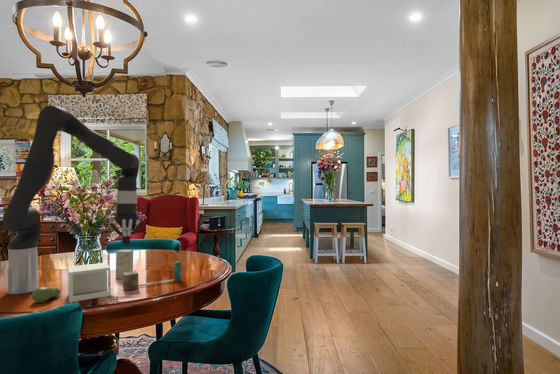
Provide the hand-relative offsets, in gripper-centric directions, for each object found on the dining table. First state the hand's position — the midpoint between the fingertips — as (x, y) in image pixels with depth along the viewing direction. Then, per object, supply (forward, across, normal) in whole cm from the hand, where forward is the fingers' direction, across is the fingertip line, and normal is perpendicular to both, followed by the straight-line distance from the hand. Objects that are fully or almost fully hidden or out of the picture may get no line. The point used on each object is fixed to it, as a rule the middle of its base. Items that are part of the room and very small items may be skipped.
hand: (125, 245), depth 138 cm
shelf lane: (+18, -12, -1) cm, 22 cm away
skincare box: (+18, +3, +20) cm, 27 cm away
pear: (+19, -26, +2) cm, 32 cm away
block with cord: (+17, +11, -1) cm, 20 cm away
